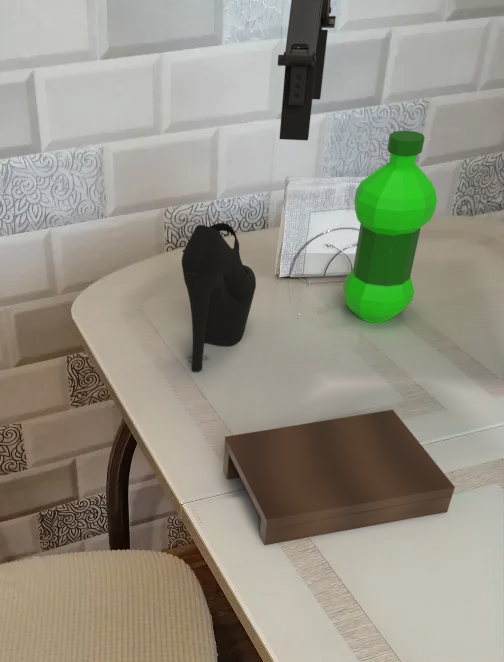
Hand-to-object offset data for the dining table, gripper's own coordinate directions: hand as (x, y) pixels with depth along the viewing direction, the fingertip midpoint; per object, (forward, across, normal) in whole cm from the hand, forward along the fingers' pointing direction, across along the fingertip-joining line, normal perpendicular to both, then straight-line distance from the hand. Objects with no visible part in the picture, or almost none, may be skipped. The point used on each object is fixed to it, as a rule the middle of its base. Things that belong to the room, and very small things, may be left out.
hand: (301, 117), depth 82 cm
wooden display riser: (+33, +20, +8) cm, 40 cm away
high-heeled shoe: (+33, -9, -10) cm, 36 cm away
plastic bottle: (+33, -22, +12) cm, 42 cm away
